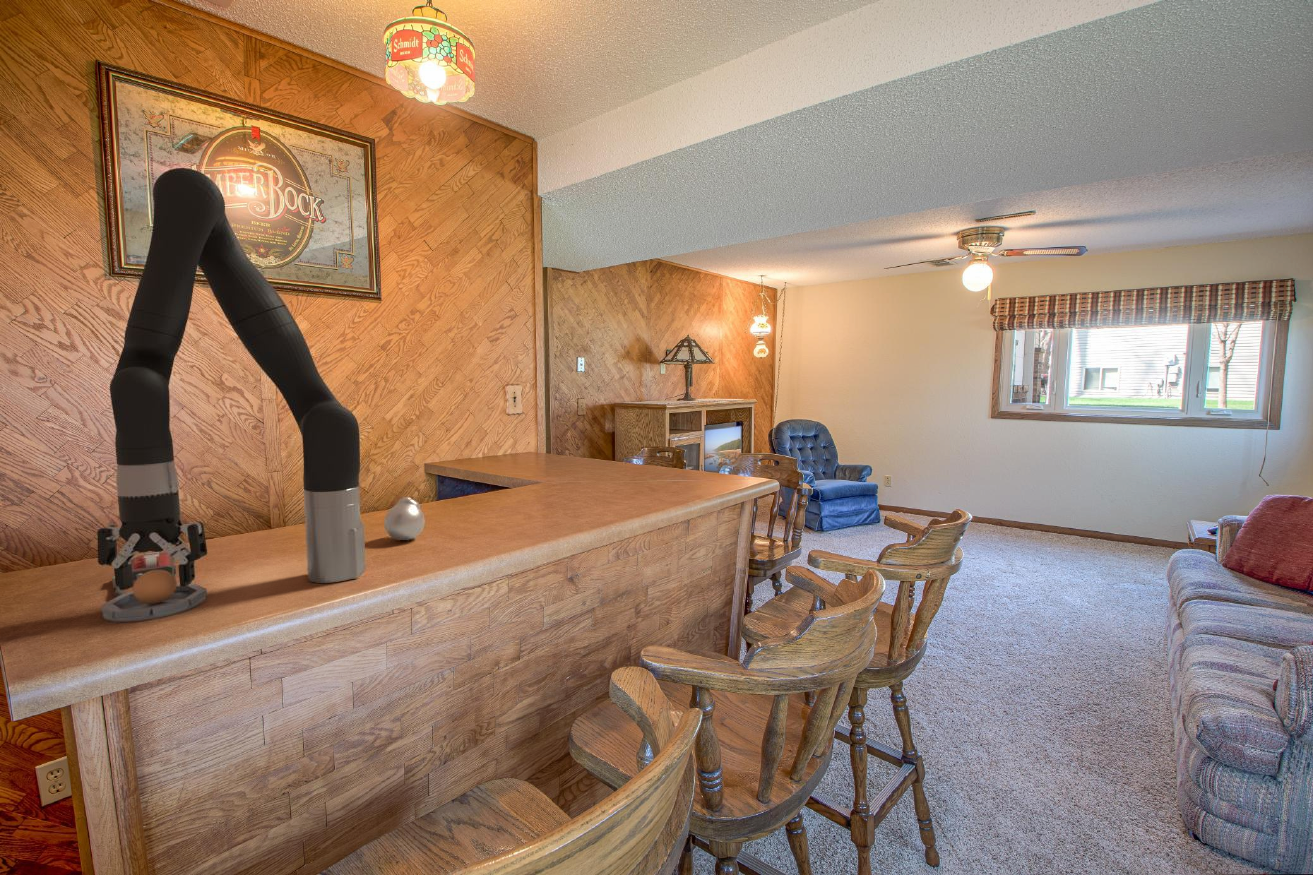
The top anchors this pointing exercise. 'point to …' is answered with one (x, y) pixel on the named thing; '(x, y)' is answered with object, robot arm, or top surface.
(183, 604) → the dish
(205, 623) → the top surface
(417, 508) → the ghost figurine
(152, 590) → the ball
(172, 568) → the walkie-talkie
